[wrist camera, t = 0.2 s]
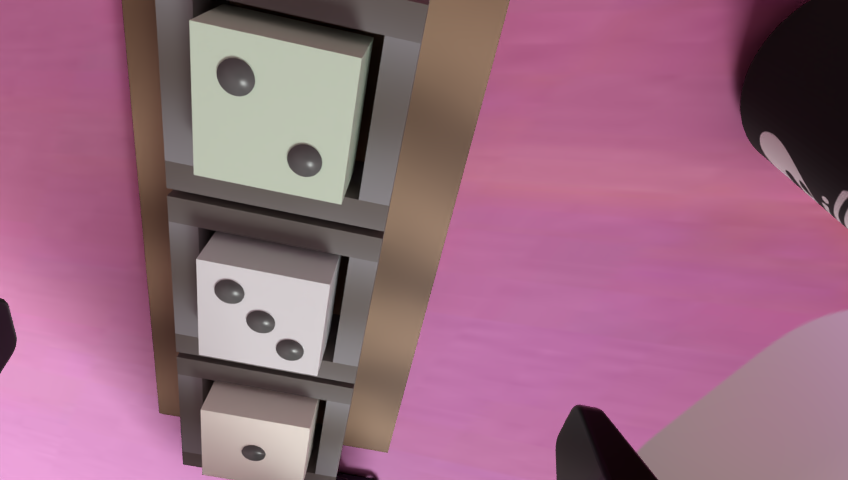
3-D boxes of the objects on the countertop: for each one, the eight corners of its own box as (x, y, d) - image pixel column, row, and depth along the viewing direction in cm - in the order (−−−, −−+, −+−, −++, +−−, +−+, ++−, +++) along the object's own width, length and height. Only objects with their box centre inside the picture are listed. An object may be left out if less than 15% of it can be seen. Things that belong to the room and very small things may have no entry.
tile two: (353, 170, 18) (341, 205, 16) (223, 142, 18) (193, 175, 16) (373, 37, 16) (361, 58, 14) (223, 3, 16) (188, 20, 14)
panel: (391, 421, 31) (381, 502, 27) (176, 383, 30) (132, 460, 26) (506, -17, 18) (520, 9, 14) (145, -102, 18) (52, -99, 14)
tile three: (329, 332, 22) (316, 377, 20) (222, 312, 22) (198, 355, 20) (342, 245, 20) (329, 285, 18) (222, 221, 20) (195, 260, 18)
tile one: (313, 445, 26) (301, 491, 24) (221, 429, 26) (201, 475, 24) (322, 383, 24) (309, 429, 22) (222, 365, 24) (199, 410, 22)
